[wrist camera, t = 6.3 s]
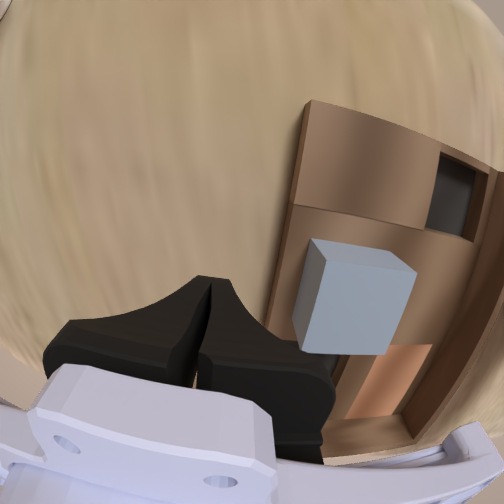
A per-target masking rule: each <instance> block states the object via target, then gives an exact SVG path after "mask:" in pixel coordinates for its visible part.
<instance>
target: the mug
mask: <svg viewBox="0 0 504 504" xmlns="http://www.w3.org/2000/svg"><path fill="white" fill-rule="evenodd" d="M11 1H12V0H0V20H1V18H2V17H3V15H4V14H5V12H6V10H7V8H8V7H9V5H10V3H11Z"/></svg>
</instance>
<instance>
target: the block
mask: <svg viewBox="0 0 504 504" xmlns="http://www.w3.org/2000/svg"><path fill="white" fill-rule="evenodd" d="M416 276H417V272H415V271H414V270H413V269H412V268H410V267H409V266H408V265H407V264H405V263H404V262H403V261H402V260H400V259H399V258H398V257H396V256H395V255H394V254H393V253H391V252H390V251H386V250H380V249H374V248H368V247H363V246H357V245H351V244H345V243H338V242H332V241H326V240H320V239H313V238H311V239H310V243H309V248H308V252H307V257H306V261H305V265H304V270H303V274H302V278H301V282H300V287H299V291H298V295H297V299H296V303H295V307H294V311H293V315H292V321H293V325H294V329H295V333H296V336H297V340H298V344H299V348H300V350H302V351H305V352H307V353H320V354H346V355H385V353H386V351H387V349H388V347H389V344H390V342H391V340H392V338H393V335H394V333H395V331H396V329H397V326H398V324H399V321H400V319H401V317H402V314H403V312H404V309H405V306H406V304H407V301H408V299H409V296H410V293H411V291H412V288H413V285H414V282H415V279H416Z"/></svg>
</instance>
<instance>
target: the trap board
mask: <svg viewBox="0 0 504 504" xmlns="http://www.w3.org/2000/svg"><path fill="white" fill-rule="evenodd" d="M311 238H313V239H320V240H326V241H332V242H338V243H345V244H351V245H357V246H363V247H368V248H374V249H380V250H386V251H390V252H391V253H393V254H394V255H395V256H396V257H398V258H399V259H400V260H402V261H403V262H404V263H405V264H407V265H408V266H409V267H410V268H412V269H413V270H414V271H415V272H417V276H416V279H415V282H414V285H413V288H412V291H411V293H410V296H409V299H408V301H407V304H406V306H405V309H404V312H403V314H402V317H401V319H400V321H399V324H398V326H397V329H396V331H395V333H394V335H393V338H392V340H391V342H390V344H389V347H388V349H387V351H386V353H385V355H346V354H320V353H310V354H312V355H315V356H318V357H320V358H322V360H323V362H324V364H325V366H326V368H327V370H328V372H329V374H330V376H331V379H332V382H333V384H334V387H335V391H336V401H335V404H334V407H333V410H332V412H331V413H330V415H329V417H328V419H327V421H326V423H325V425H324V426H323V428H322V430H321V433H322V437H323V444H322V446H320V449H321V453H322V458H327V457H339V456H348V455H357V454H364V453H371V452H377V451H383V450H389V449H394V448H399V447H404V446H408V445H413V444H416V443H417V442H418V441H419V440H420V438H421V437H422V436H423V435H424V434H425V432H426V431H427V430H428V429H429V427H430V426H431V425H432V424H433V422H434V421H435V420H436V418H437V417H438V416H439V414H440V413H441V412H442V410H443V409H444V408H445V406H446V405H447V403H448V402H449V401H450V399H451V398H452V396H453V395H454V393H455V392H456V390H457V389H458V387H459V386H460V384H461V383H462V381H463V379H464V378H465V376H466V375H467V373H468V371H469V370H470V368H471V366H472V365H473V363H474V361H475V359H476V358H477V356H478V354H479V352H480V350H481V348H482V347H483V345H484V343H485V341H486V339H487V337H488V335H489V333H490V331H491V329H492V327H493V325H494V322H495V320H496V318H497V316H498V314H499V311H500V309H501V307H502V304H503V302H504V172H499V171H497V170H495V169H494V168H492V167H490V166H488V165H486V164H484V163H483V162H481V161H479V160H477V159H475V158H473V157H471V156H469V155H467V154H465V153H463V152H461V151H459V150H457V149H455V148H453V147H450V146H448V145H446V144H444V143H442V142H439V141H437V140H435V139H432V138H430V137H428V136H425V135H423V134H420V133H418V132H415V131H413V130H410V129H408V128H405V127H402V126H400V125H397V124H394V123H391V122H388V121H386V120H383V119H380V118H377V117H373V116H370V115H367V114H364V113H361V112H357V111H354V110H350V109H347V108H343V107H340V106H336V105H332V104H328V103H324V102H320V101H316V100H310V101H309V102H308V103H307V104H305V109H304V116H303V122H302V128H301V134H300V140H299V146H298V152H297V158H296V163H295V169H294V175H293V181H292V186H291V192H290V197H289V203H288V208H287V214H286V219H285V224H284V229H283V235H282V240H281V245H280V250H279V255H278V260H277V266H276V271H275V276H274V280H273V285H272V290H271V295H270V300H269V305H268V310H267V314H266V319H265V324H264V325H265V328H266V329H267V330H268V331H270V332H271V333H272V334H274V335H275V336H277V337H278V338H280V339H281V340H283V341H285V342H286V343H288V344H290V345H292V346H294V347H296V348H298V349H300V348H299V344H298V340H297V336H296V333H295V329H294V325H293V321H292V315H293V311H294V307H295V303H296V299H297V295H298V291H299V287H300V282H301V278H302V274H303V270H304V265H305V261H306V257H307V252H308V248H309V243H310V239H311Z"/></svg>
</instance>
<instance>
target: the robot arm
mask: <svg viewBox="0 0 504 504" xmlns="http://www.w3.org/2000/svg"><path fill="white" fill-rule="evenodd" d="M43 366H44V370H45V374H46V376H47V379H48V381H47V382H46V384H45V385H44V387H43V388H42V390H41V391H40V393H39V394H38V396H37V397H36V399H35V400H34V402H33V403H32V405H31V407H30V409H29V410H28V411H26V410H23V409H21V408H19V407H17V406H15V405H13V404H12V403H10V402H8V401H6V400H4V399H3V398H1V397H0V485H1V486H2V488H1V491H0V504H465V503H466V502H467V501H469V500H470V499H471V498H472V497H474V496H475V495H476V494H478V493H479V492H480V491H481V490H482V489H484V488H485V487H486V486H487V485H489V484H490V483H491V482H492V481H493V480H494V479H496V478H497V477H498V476H499V475H500V474H501V473H502V472H503V471H504V461H503V459H502V458H501V456H500V454H499V453H498V451H497V449H496V448H495V446H494V445H493V443H492V441H491V440H490V438H489V437H488V435H487V434H486V432H485V430H484V429H483V427H482V426H481V424H480V423H479V421H475V422H472V423H469V424H466V425H463V426H460V427H458V428H456V429H455V430H453V431H452V432H451V433H450V434H449V435H448V436H447V437H446V438H445V440H444V441H443V442H442V444H440V445H437V446H433V447H430V448H426V449H423V450H419V451H415V452H411V453H407V454H403V455H399V456H394V457H389V458H384V459H379V460H374V461H367V462H361V463H354V464H346V465H338V466H329V465H324V462H323V458H322V453H321V449H320V446H322V444H323V437H322V433H321V430H322V428H323V426H324V425H325V423H326V421H327V419H328V417H329V415H330V413H331V412H332V410H333V407H334V404H335V401H336V391H335V387H334V384H333V382H332V379H331V376H330V374H329V372H328V370H327V368H326V366H325V364H324V362H323V360H322V358H320V357H318V356H315V355H312V354H310V353H307V352H305V351H302V350H300V349H298V348H296V347H294V346H292V345H290V344H288V343H286V342H285V341H283V340H281V339H280V338H278V337H277V336H275V335H274V334H272V333H271V332H270V331H268V330H267V329H266V328H264V327H263V326H262V325H261V324H260V323H259V322H258V321H257V320H256V319H255V318H254V317H253V316H252V315H251V314H250V313H249V312H248V311H247V309H246V308H245V307H244V305H243V304H242V302H241V301H240V299H239V297H238V296H237V294H236V292H235V290H234V288H233V286H232V283H231V282H230V280H229V279H222V278H215V277H208V276H201V275H198V276H196V277H195V278H193V279H192V280H191V281H189V282H188V283H187V284H185V285H184V286H183V287H181V288H180V289H178V290H177V291H176V292H174V293H172V294H171V295H169V296H167V297H165V298H164V299H162V300H160V301H158V302H156V303H154V304H151V305H149V306H147V307H144V308H141V309H138V310H135V311H131V312H128V313H125V314H120V315H116V316H110V317H104V318H96V319H79V320H69V321H68V322H67V324H66V325H65V326H64V327H63V328H62V329H61V330H60V332H59V333H58V334H57V335H56V336H55V338H54V339H53V340H52V341H51V342H50V344H49V345H48V346H47V348H46V349H45V351H44V353H43ZM196 372H197V383H196V389H192V387H193V382H194V379H195V375H196Z"/></svg>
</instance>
